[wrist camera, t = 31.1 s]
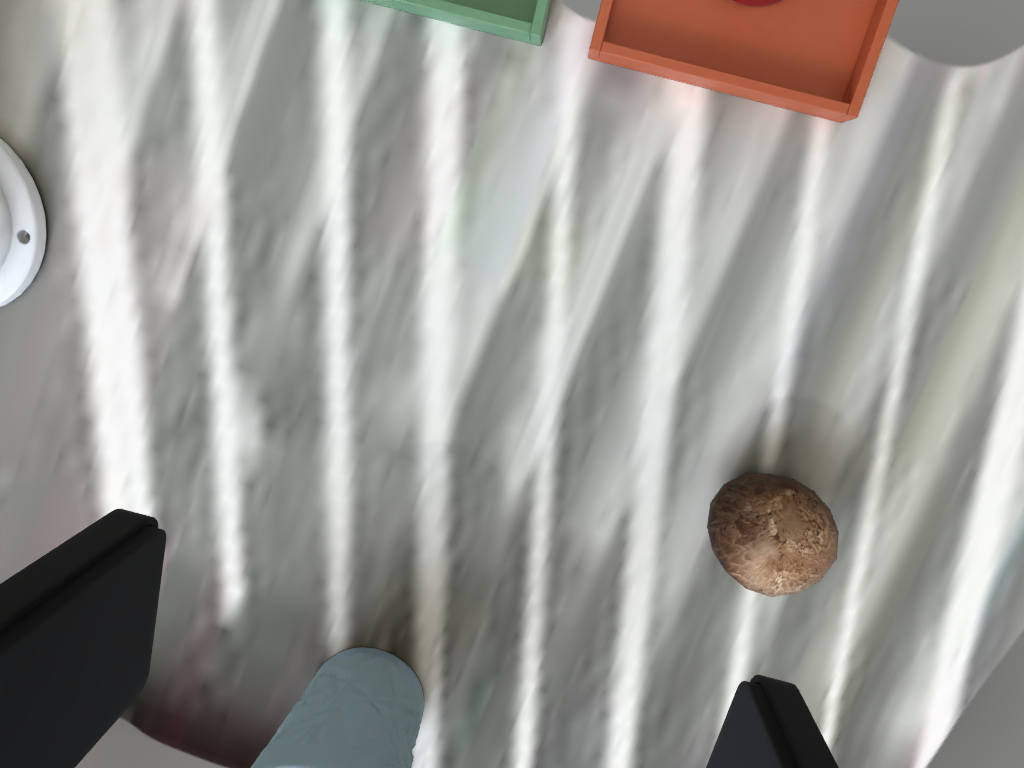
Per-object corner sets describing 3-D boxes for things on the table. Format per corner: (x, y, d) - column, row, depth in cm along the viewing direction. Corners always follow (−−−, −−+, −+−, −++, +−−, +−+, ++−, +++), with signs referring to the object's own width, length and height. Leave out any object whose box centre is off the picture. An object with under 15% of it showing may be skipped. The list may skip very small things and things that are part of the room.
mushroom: (754, 630, 43) (797, 624, 37) (666, 535, 45) (694, 516, 39) (830, 548, 45) (882, 531, 40) (743, 462, 47) (780, 434, 42)
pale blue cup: (452, 733, 50) (420, 887, 39) (333, 766, 52) (268, 924, 40) (399, 620, 48) (349, 747, 37) (277, 658, 50) (192, 791, 38)
